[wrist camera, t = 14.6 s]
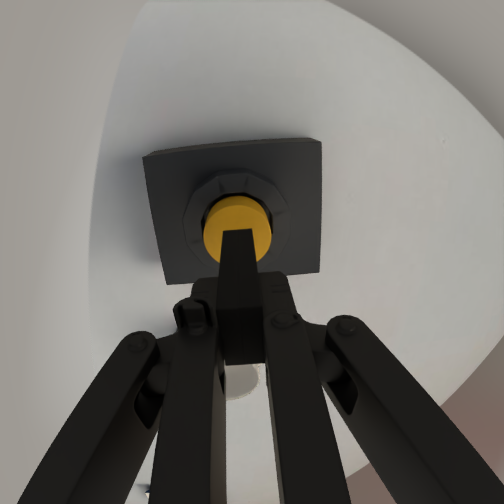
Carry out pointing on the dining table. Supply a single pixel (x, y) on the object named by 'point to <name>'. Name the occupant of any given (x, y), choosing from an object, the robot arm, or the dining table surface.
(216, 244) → the yellow button cap
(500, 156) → the dining table surface
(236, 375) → the teacup
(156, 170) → the yellow button cap base
